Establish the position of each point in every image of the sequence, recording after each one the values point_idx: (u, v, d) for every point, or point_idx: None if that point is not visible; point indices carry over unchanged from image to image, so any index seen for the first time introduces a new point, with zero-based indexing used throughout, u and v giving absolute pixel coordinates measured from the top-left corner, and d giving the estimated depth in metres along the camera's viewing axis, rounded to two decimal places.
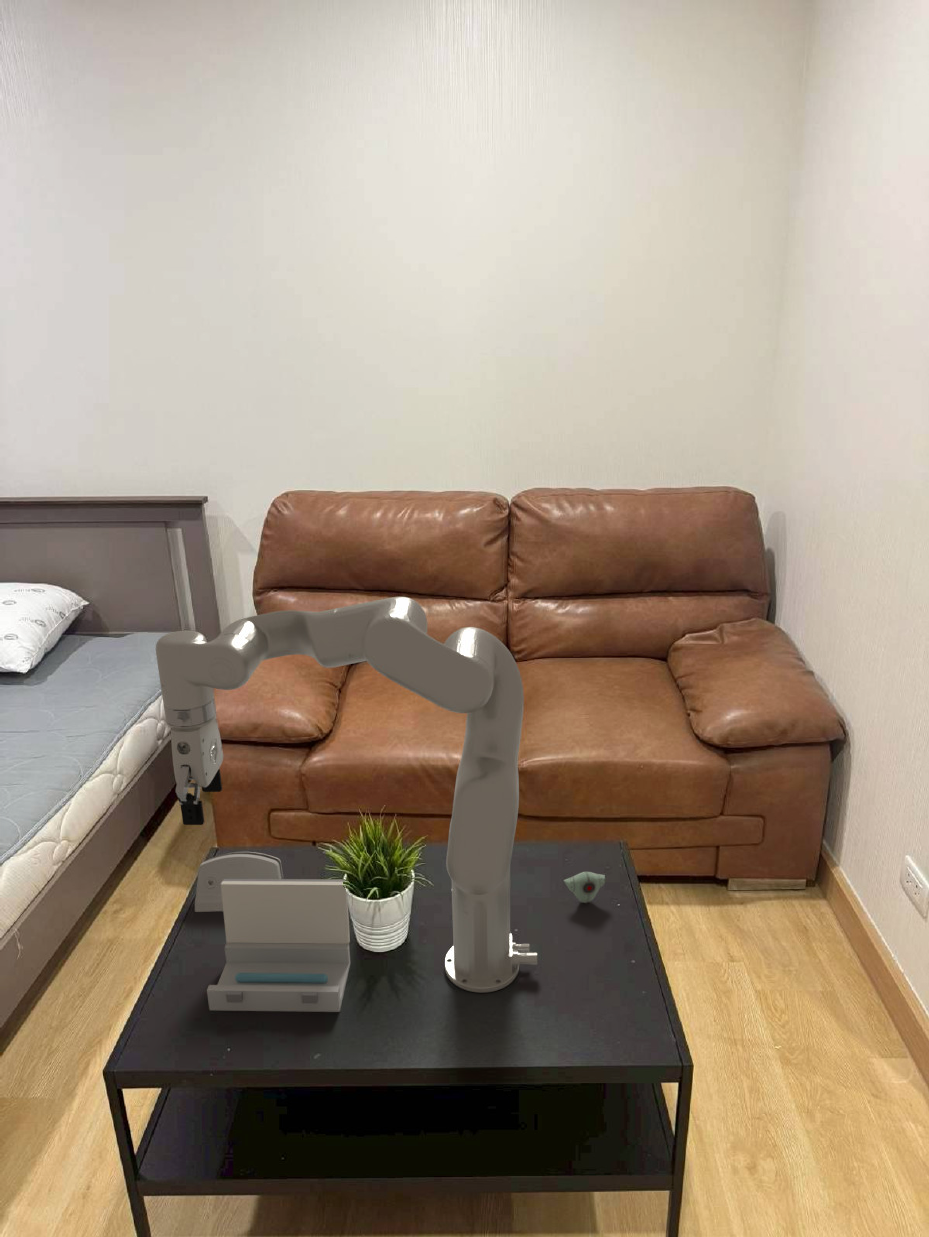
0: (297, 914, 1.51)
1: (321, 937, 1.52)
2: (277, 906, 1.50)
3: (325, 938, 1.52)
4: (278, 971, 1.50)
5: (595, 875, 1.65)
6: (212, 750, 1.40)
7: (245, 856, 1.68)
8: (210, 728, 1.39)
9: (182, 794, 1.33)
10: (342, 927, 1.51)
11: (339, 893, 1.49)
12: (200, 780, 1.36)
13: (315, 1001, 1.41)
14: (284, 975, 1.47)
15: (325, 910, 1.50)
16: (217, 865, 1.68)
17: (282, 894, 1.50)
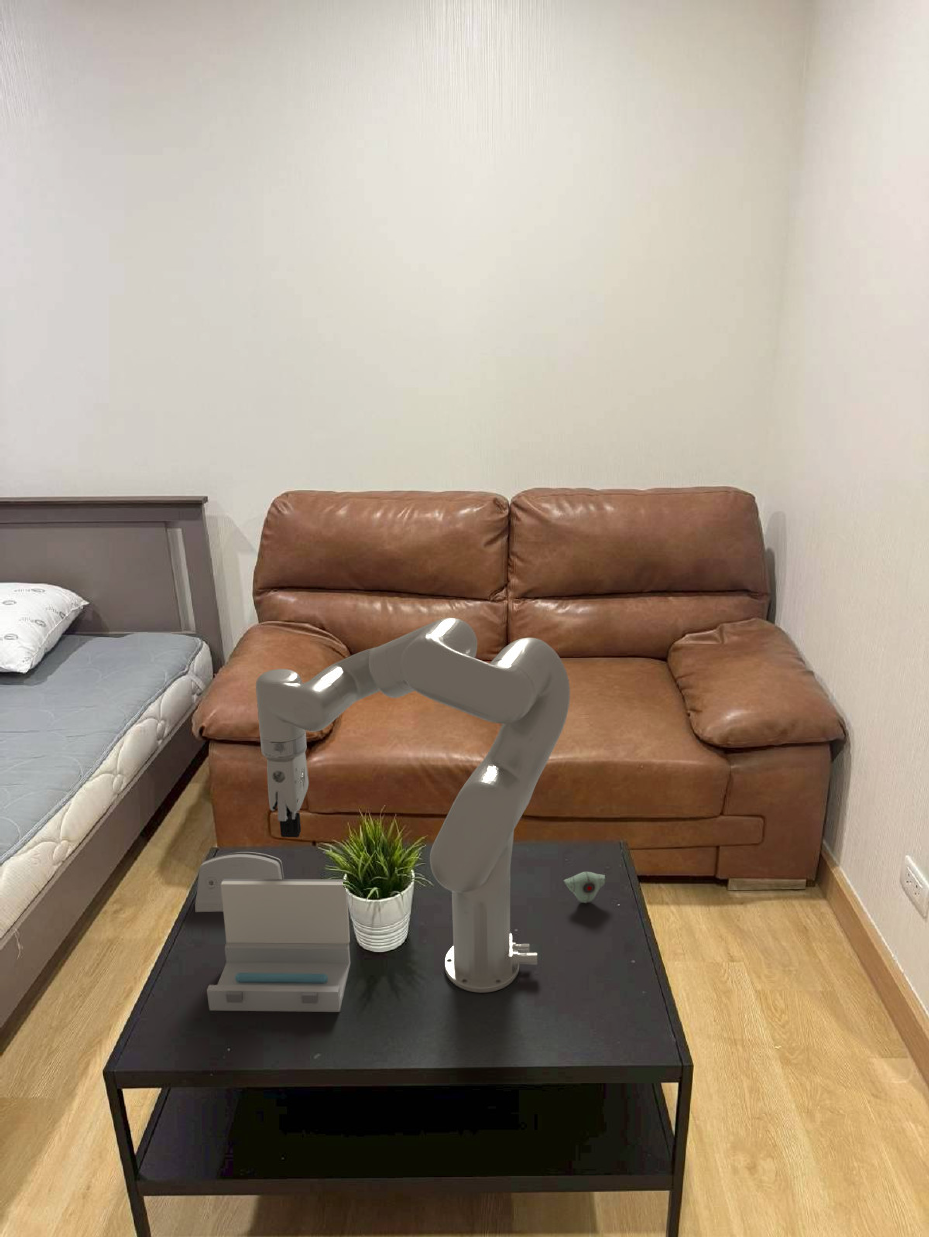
0: (297, 914, 1.51)
1: (321, 937, 1.52)
2: (277, 906, 1.50)
3: (325, 938, 1.52)
4: (278, 971, 1.50)
5: (595, 875, 1.65)
6: (302, 778, 1.53)
7: (246, 856, 1.68)
8: (301, 758, 1.52)
9: None
10: (342, 927, 1.51)
11: (339, 893, 1.49)
12: (292, 806, 1.49)
13: (315, 1001, 1.41)
14: (284, 975, 1.47)
15: (325, 910, 1.50)
16: (217, 865, 1.68)
17: (282, 894, 1.50)
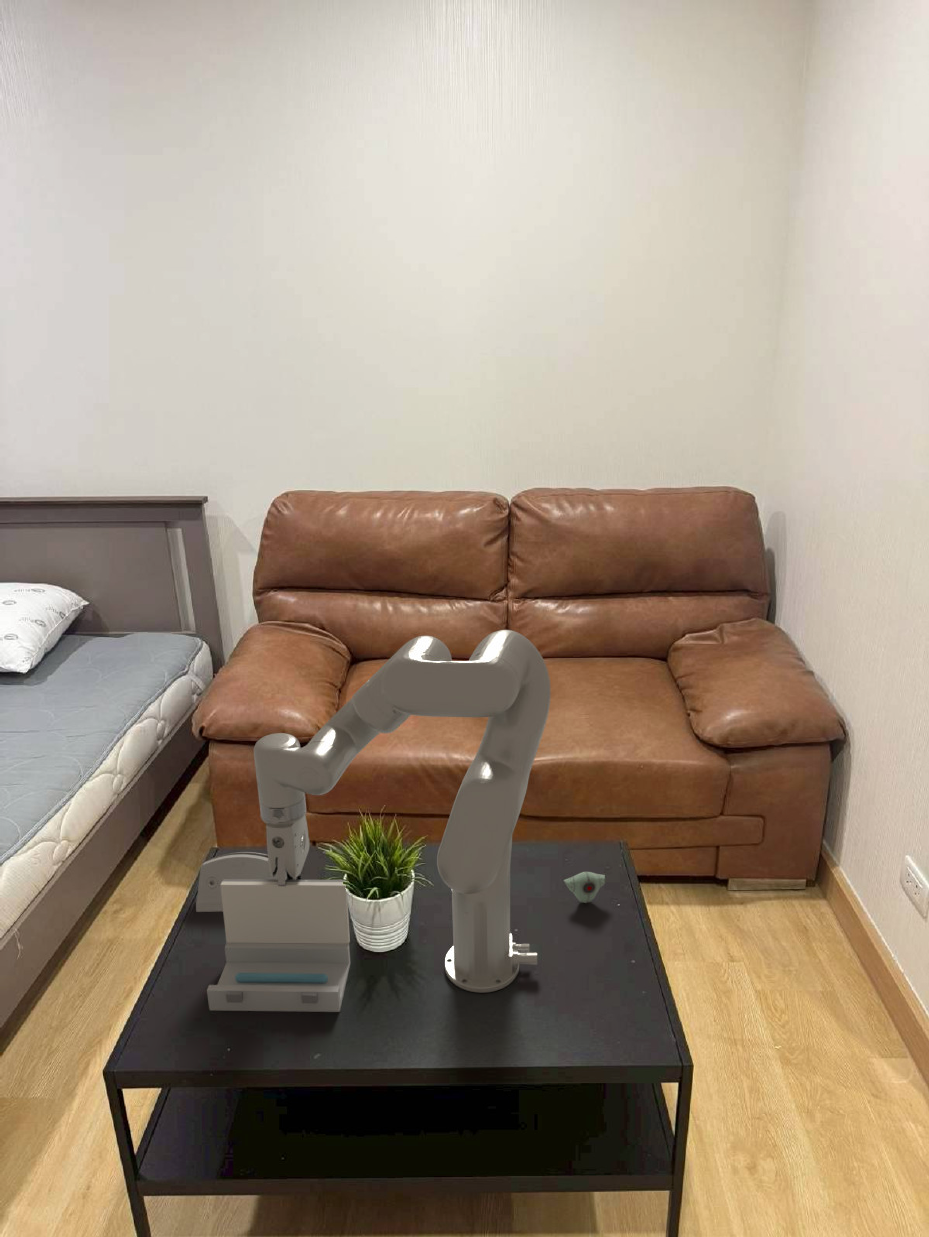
0: (297, 914, 1.50)
1: (321, 937, 1.51)
2: (277, 906, 1.50)
3: (325, 938, 1.52)
4: (278, 971, 1.50)
5: (595, 875, 1.65)
6: (302, 841, 1.51)
7: (247, 856, 1.68)
8: (300, 822, 1.50)
9: None
10: (342, 927, 1.51)
11: (339, 893, 1.49)
12: (292, 871, 1.48)
13: (315, 1001, 1.41)
14: (284, 975, 1.47)
15: (325, 910, 1.50)
16: (218, 865, 1.68)
17: (282, 894, 1.50)
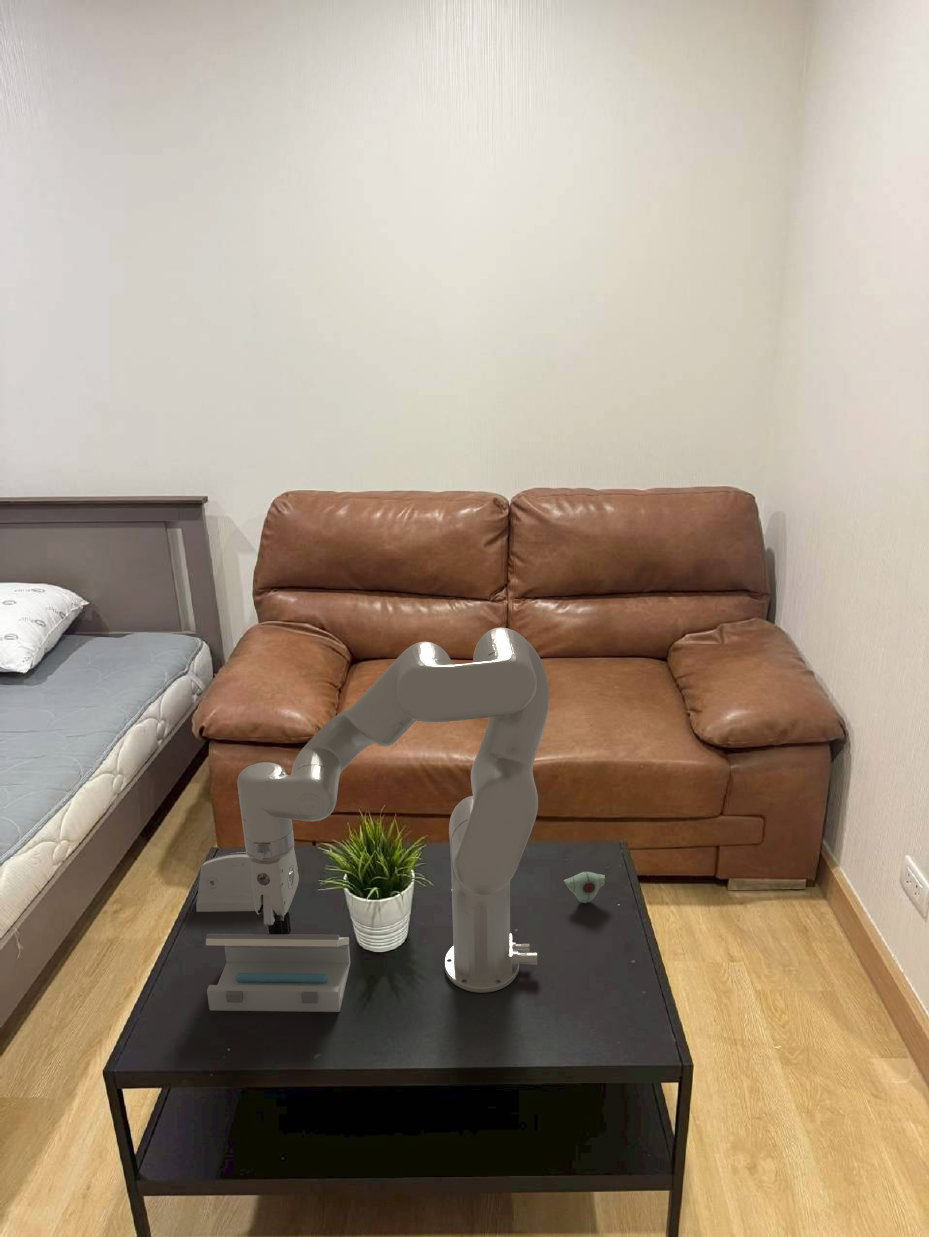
0: None
1: None
2: None
3: None
4: (278, 971, 1.50)
5: (595, 875, 1.65)
6: (289, 877, 1.42)
7: (247, 856, 1.68)
8: (288, 856, 1.41)
9: None
10: None
11: None
12: (279, 909, 1.39)
13: (315, 1001, 1.41)
14: (284, 975, 1.47)
15: None
16: (218, 865, 1.68)
17: None
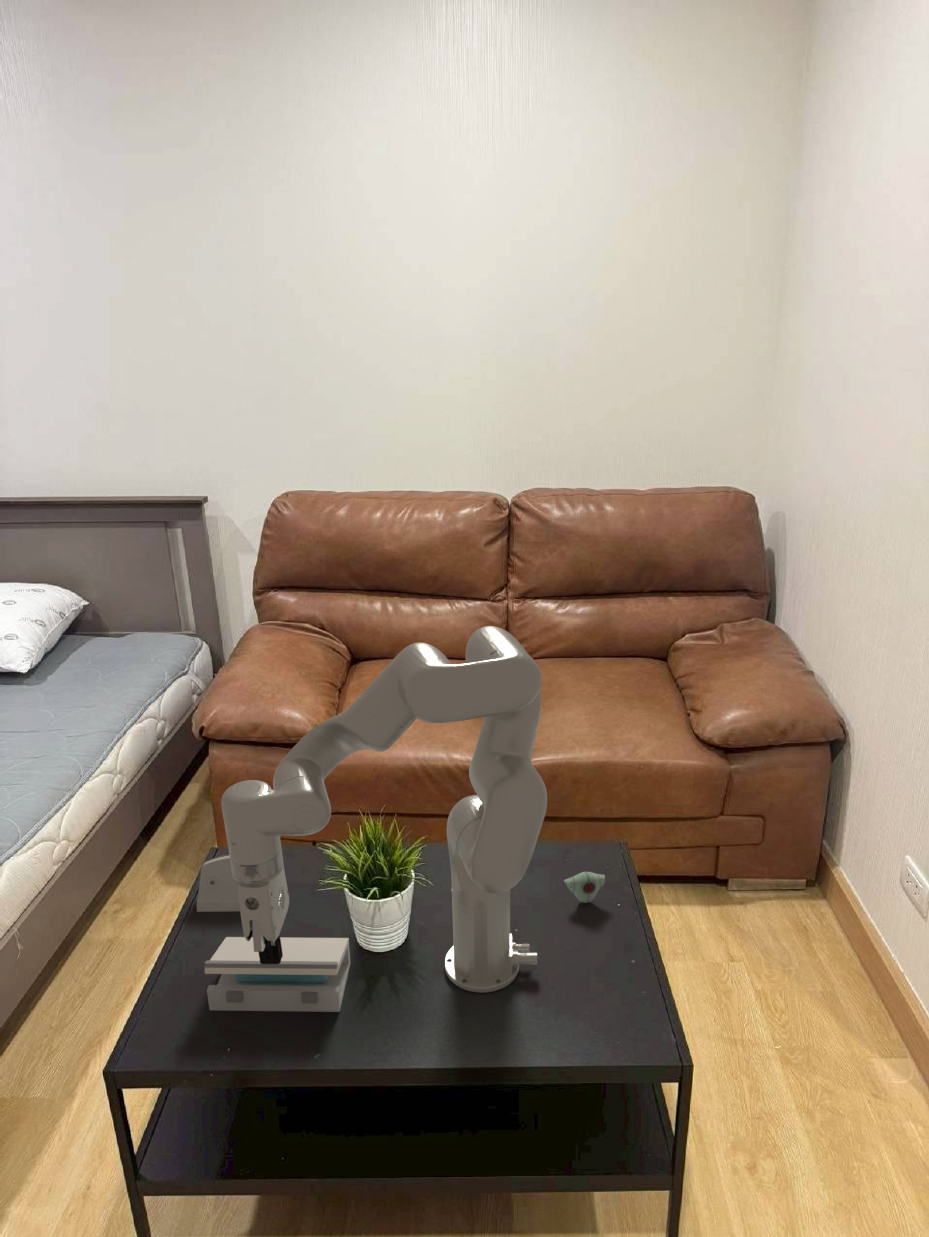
0: None
1: None
2: None
3: None
4: None
5: (595, 875, 1.65)
6: (280, 899, 1.35)
7: None
8: (277, 878, 1.34)
9: None
10: None
11: None
12: (269, 935, 1.31)
13: (315, 1001, 1.41)
14: (284, 975, 1.47)
15: None
16: (219, 865, 1.68)
17: None
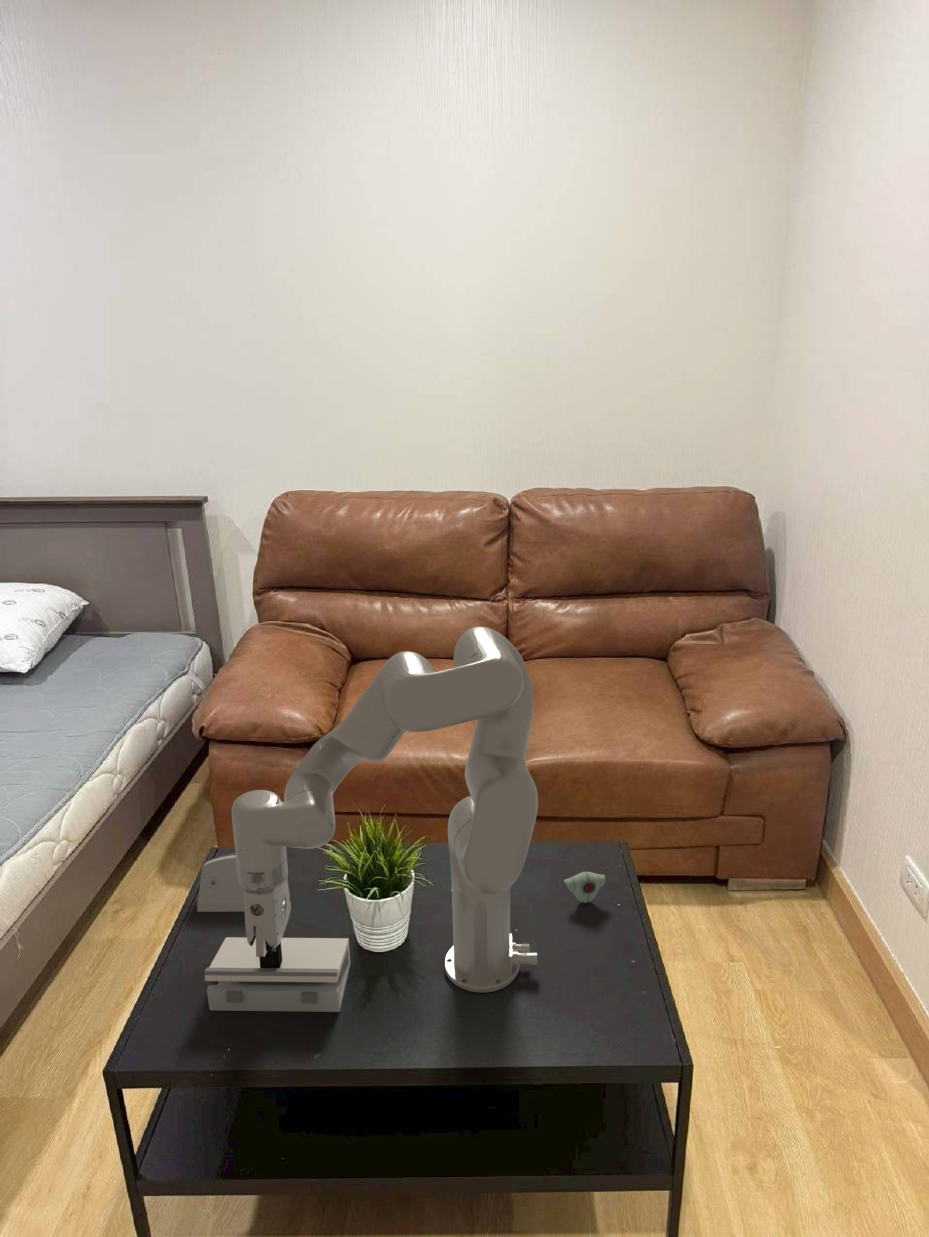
0: None
1: None
2: None
3: None
4: None
5: (595, 875, 1.65)
6: (283, 907, 1.39)
7: None
8: (282, 885, 1.38)
9: None
10: None
11: None
12: (272, 940, 1.36)
13: (315, 1001, 1.41)
14: None
15: None
16: (219, 866, 1.68)
17: None
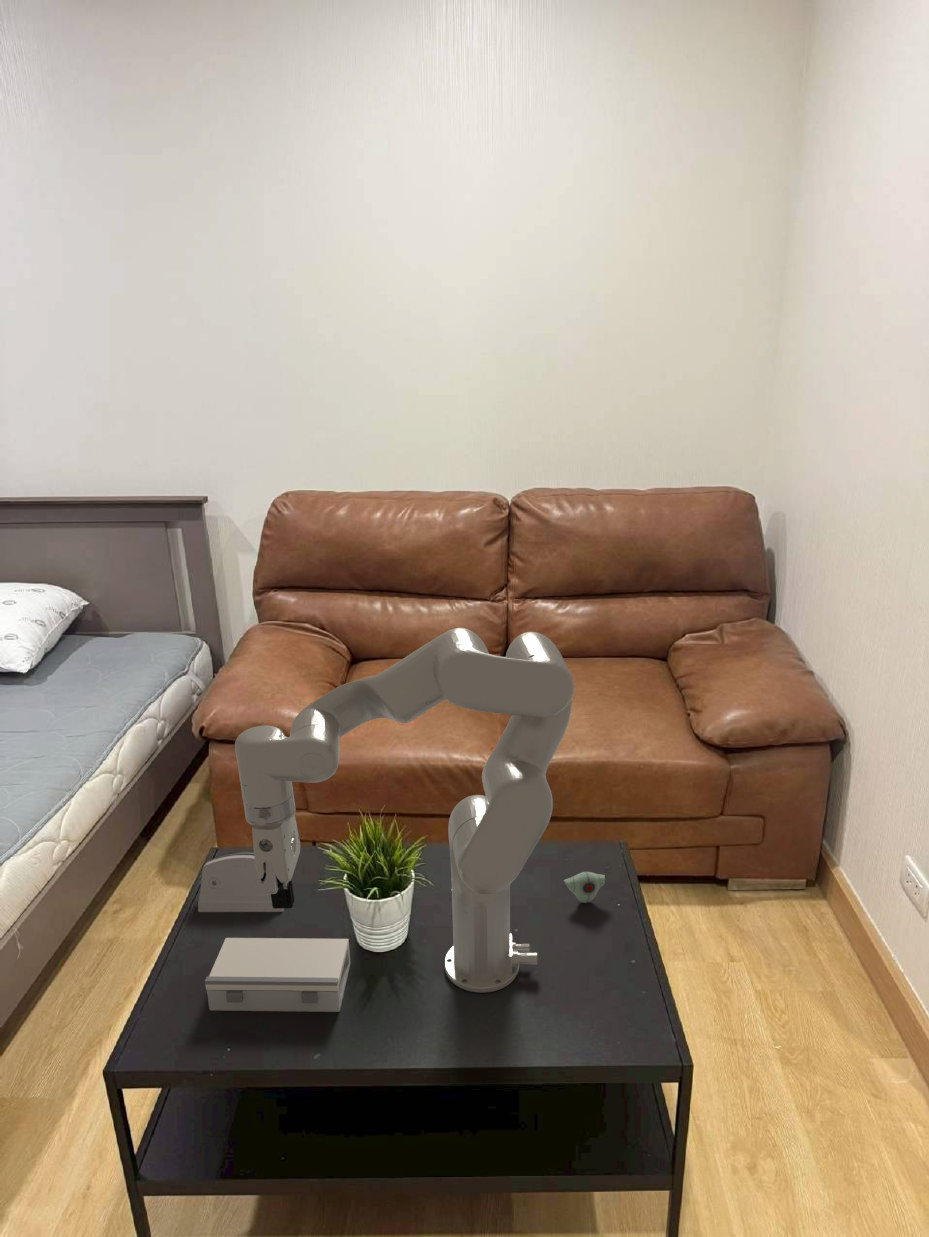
0: None
1: None
2: None
3: None
4: None
5: (595, 875, 1.65)
6: (292, 843, 1.38)
7: (249, 857, 1.68)
8: (290, 822, 1.37)
9: None
10: None
11: None
12: (283, 876, 1.35)
13: (315, 1001, 1.41)
14: None
15: None
16: (220, 866, 1.68)
17: None
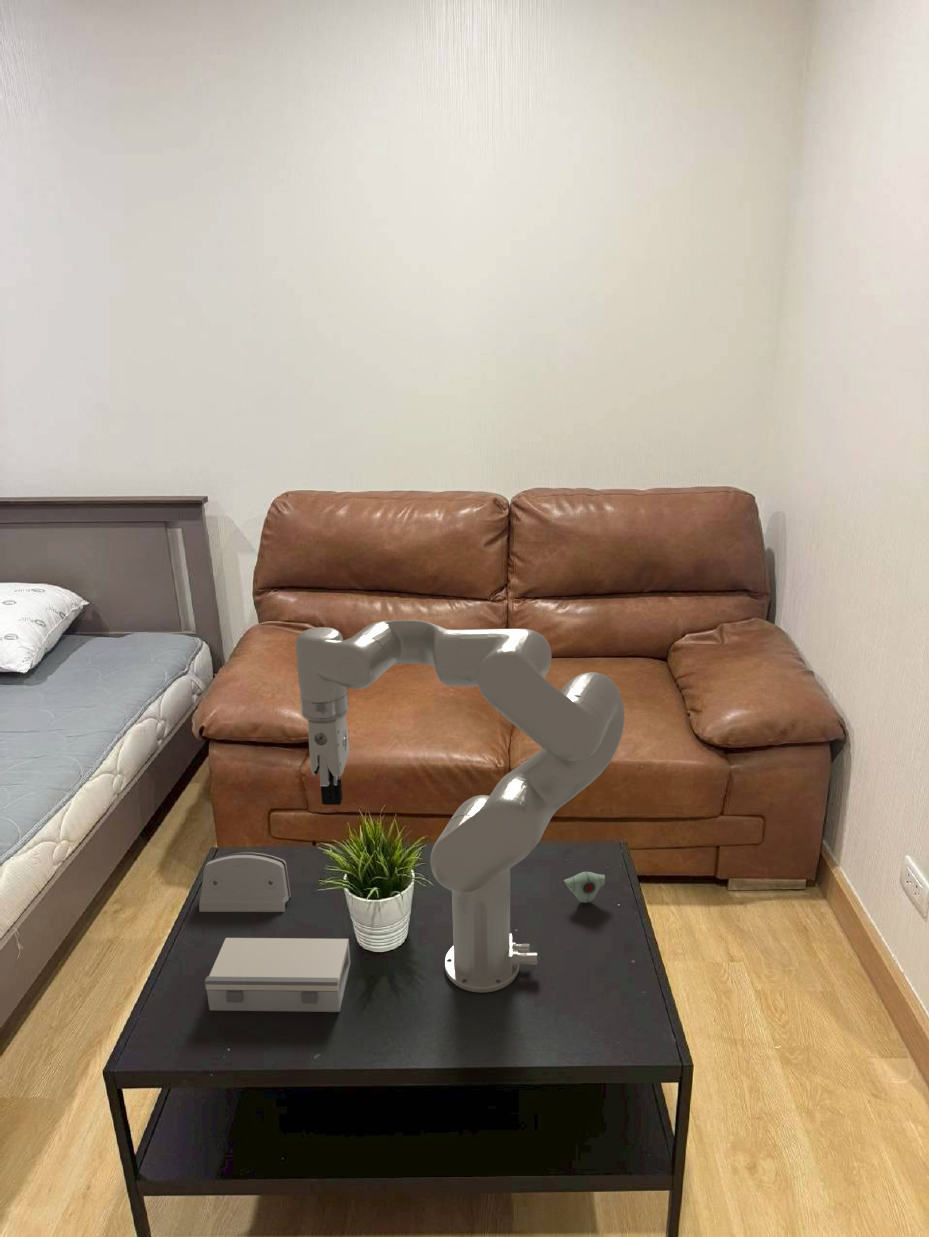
0: None
1: None
2: None
3: None
4: None
5: (595, 875, 1.65)
6: (343, 741, 1.46)
7: (250, 857, 1.68)
8: (342, 720, 1.46)
9: None
10: None
11: None
12: (335, 770, 1.43)
13: (315, 1001, 1.41)
14: None
15: None
16: (222, 866, 1.68)
17: None
